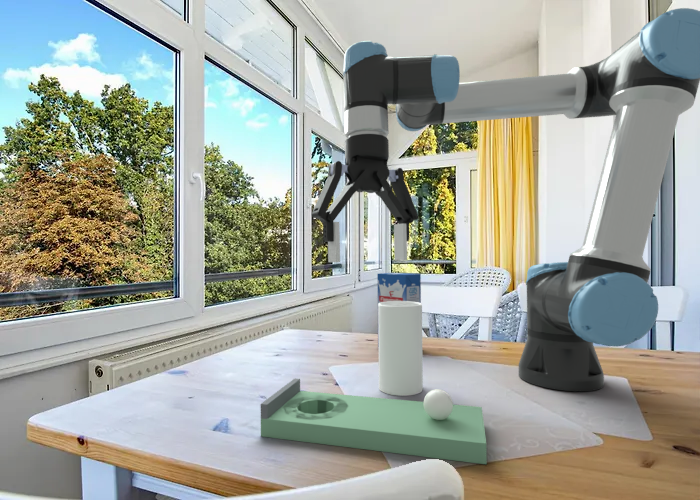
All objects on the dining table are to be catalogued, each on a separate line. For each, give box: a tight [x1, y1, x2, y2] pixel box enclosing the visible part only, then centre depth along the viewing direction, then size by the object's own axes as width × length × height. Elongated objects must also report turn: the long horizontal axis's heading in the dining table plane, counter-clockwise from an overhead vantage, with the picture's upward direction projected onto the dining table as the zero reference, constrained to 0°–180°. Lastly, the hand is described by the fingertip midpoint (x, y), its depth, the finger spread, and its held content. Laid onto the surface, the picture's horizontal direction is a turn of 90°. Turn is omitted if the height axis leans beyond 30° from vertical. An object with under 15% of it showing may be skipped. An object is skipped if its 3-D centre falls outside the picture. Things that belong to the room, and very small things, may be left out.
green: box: [260, 378, 488, 465], centre depth 59 cm, size 30×12×4 cm, turn 75°
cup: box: [377, 301, 424, 397], centre depth 77 cm, size 8×8×16 cm
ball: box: [423, 388, 454, 420], centre depth 56 cm, size 4×4×4 cm
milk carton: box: [376, 272, 422, 348], centre depth 109 cm, size 10×6×20 cm, turn 43°
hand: (369, 261), depth 70 cm, fingers open, 13 cm apart
